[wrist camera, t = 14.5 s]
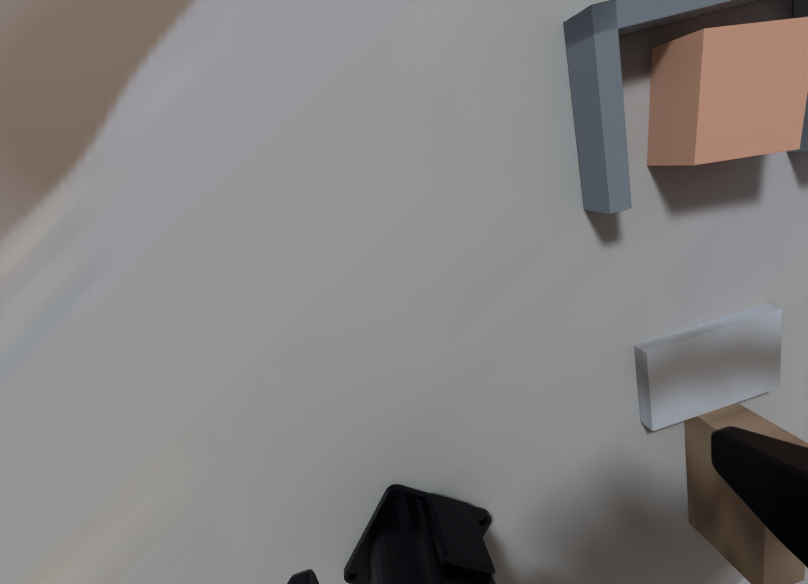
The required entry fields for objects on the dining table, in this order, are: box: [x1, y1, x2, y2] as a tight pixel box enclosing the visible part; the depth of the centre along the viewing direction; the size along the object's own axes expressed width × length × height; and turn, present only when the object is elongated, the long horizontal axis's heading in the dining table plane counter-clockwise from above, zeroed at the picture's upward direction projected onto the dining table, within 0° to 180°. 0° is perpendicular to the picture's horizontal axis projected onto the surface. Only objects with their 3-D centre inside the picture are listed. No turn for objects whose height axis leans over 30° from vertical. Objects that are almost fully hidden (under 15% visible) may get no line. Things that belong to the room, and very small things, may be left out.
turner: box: [634, 304, 808, 584], centre depth 23 cm, size 14×8×5 cm, turn 14°
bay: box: [563, 0, 808, 214], centre depth 18 cm, size 8×12×2 cm, turn 104°
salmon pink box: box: [647, 17, 808, 166], centre depth 18 cm, size 5×5×3 cm
